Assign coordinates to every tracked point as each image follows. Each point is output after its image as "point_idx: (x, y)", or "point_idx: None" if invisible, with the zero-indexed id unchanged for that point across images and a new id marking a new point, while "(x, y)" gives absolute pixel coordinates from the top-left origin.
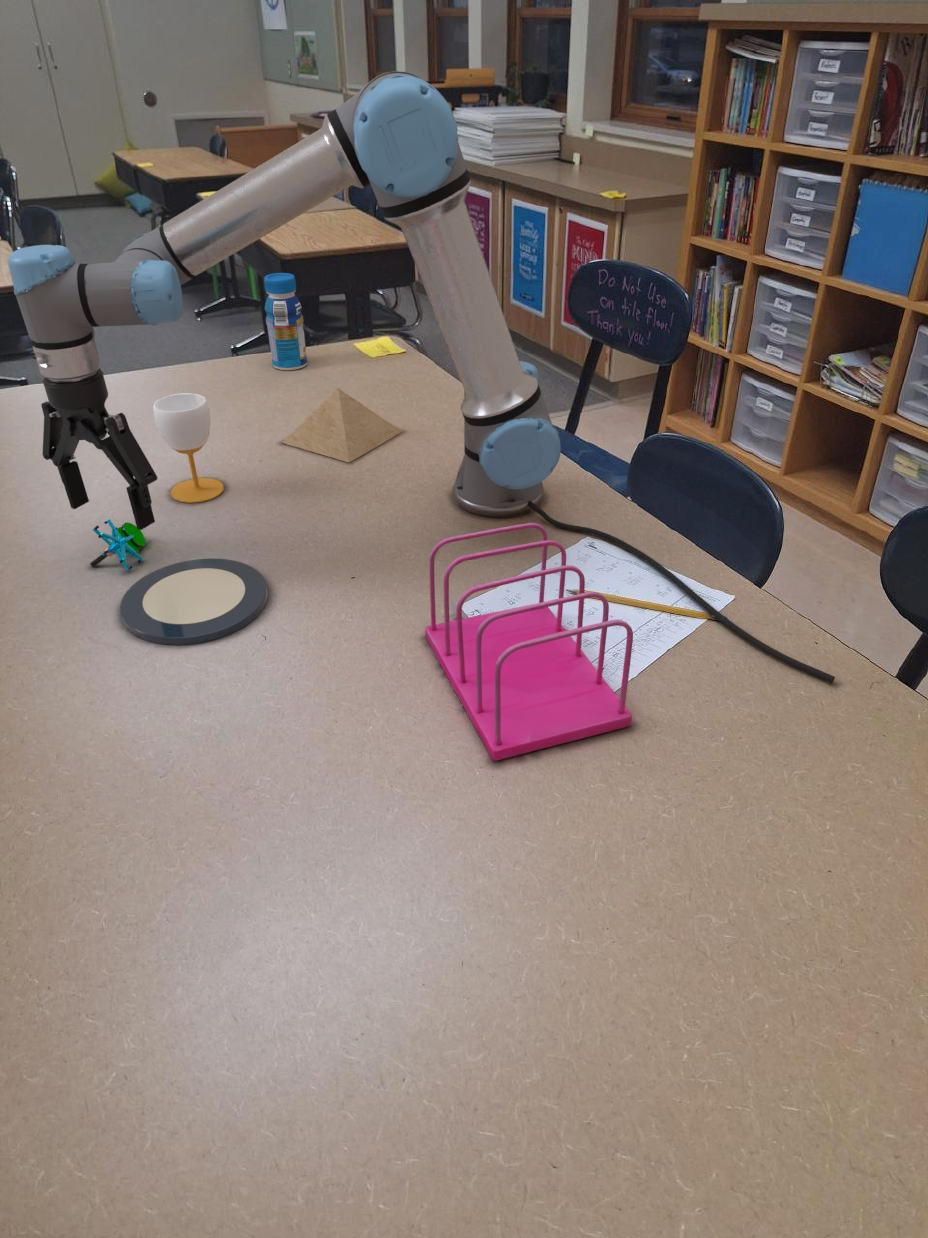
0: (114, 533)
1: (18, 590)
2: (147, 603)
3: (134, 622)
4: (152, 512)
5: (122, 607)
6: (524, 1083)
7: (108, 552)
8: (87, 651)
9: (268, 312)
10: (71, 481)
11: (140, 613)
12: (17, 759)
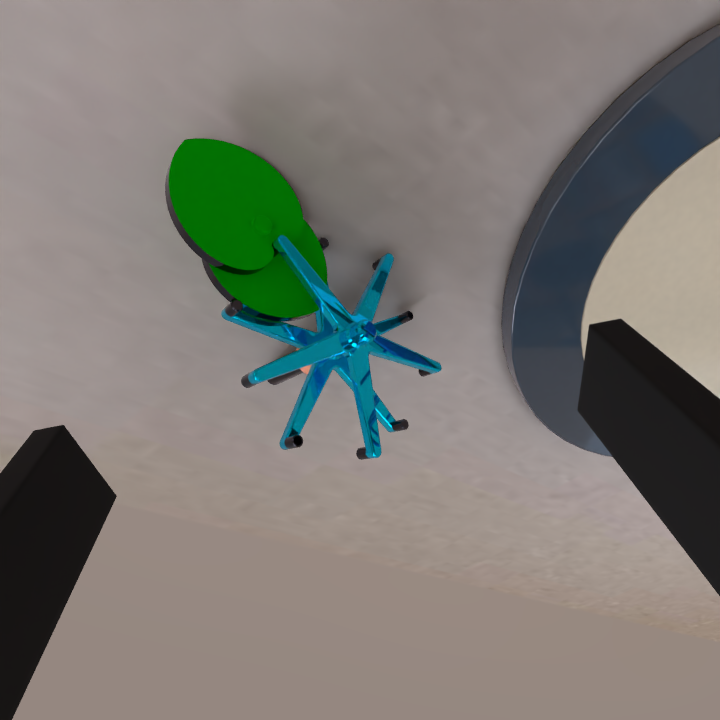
0: (319, 361)
1: (246, 521)
2: None
3: None
4: (661, 353)
5: (574, 439)
6: None
7: (383, 404)
8: (583, 513)
9: None
10: (11, 645)
11: None
12: (664, 623)
